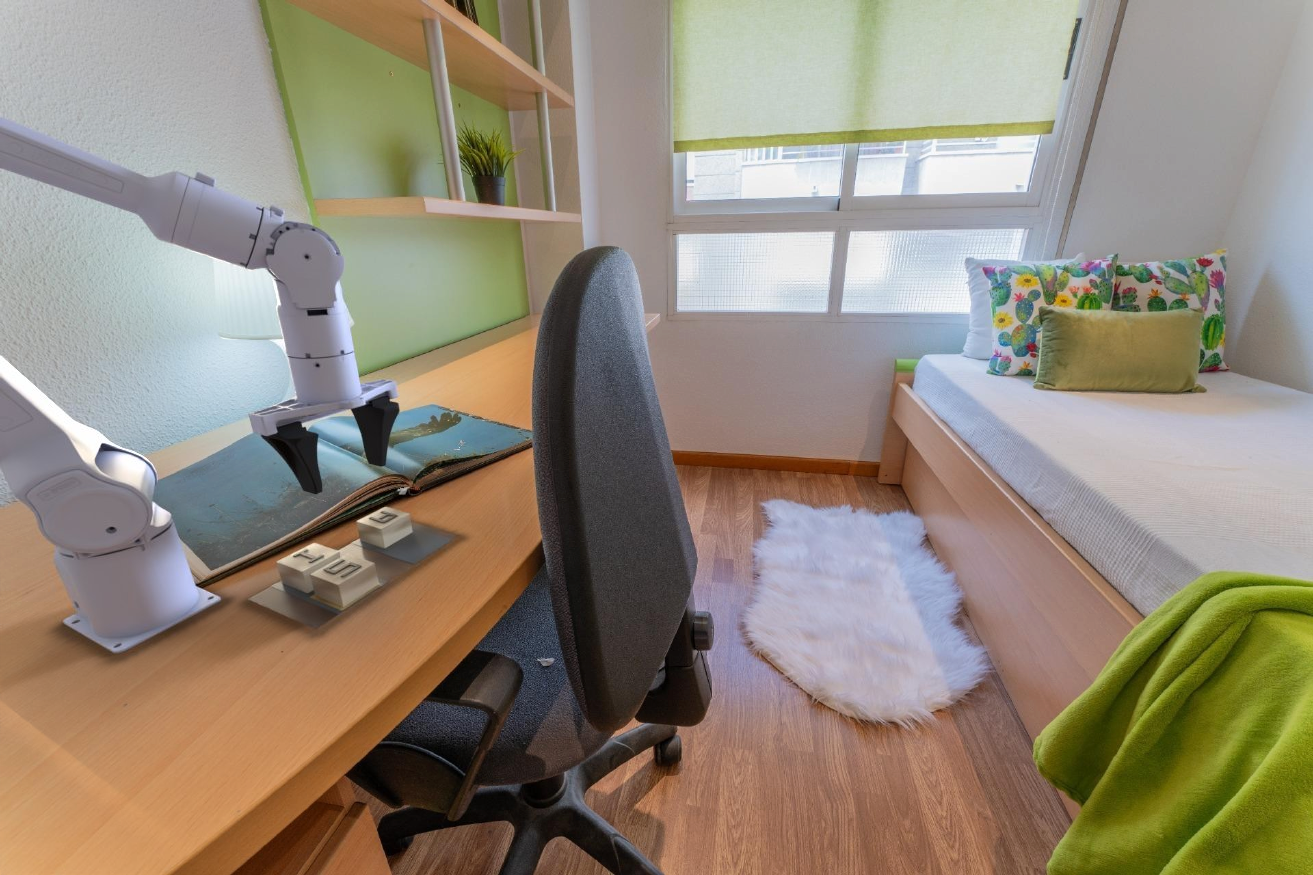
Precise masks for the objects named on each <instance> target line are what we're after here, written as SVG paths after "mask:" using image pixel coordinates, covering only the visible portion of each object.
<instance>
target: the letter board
mask: <svg viewBox="0 0 1313 875" xmlns="http://www.w3.org/2000/svg"><path fill="white" fill-rule="evenodd" d="M411 526H412V533H411V534H409V535H407V536H405V537H404V538H402V539H400V540H399V541H397V542H395V543H393V544H392V545H390V546H388V547H387V548H385V549H384V548H381V547H378V546H375V545H372V544H369V543H366V542H363V541H360V537H359V538H357V539H355V540H354V541H352V542H350V544H347V545H345V546H344V547H342V548H340V549H338V550H337V551H340V555H341V557H342V556H344V555H346V554H350V555H353V556H356V557H358V558H361V559H364V560H367V561H370V562H373V563H375V568H376V573H377V578H378V583H379V585H377V586H376V587H374V588H372V589H371V590H369V591H368V592H366V593H365V594H363V595H362V596H360V597H359V598H357V599H355V600H354V601H352V602H351V603H349V604H348V605H346V606H345V607H341V606H339V605H336V604H334V603H331V602H329V601H326V600H324V599H321V598H319V597H316V596H315V592H314V590H313V591H311V592H310V593H305V592H303V591H300V590H298V589H295V588H293V587H291V586H288V585H286V584H283V583H282V581H281V580H279V581H277V582H276V583H274V584H272V585H270V587H268V588H266V589H264V590H262V591H260V592H258V593H256V594H255V595H253V596H251V597H249V598H248V599H247V600H248V601H251V602H253V603H255V604H257V605H260V606H262V607H264V608H267V609H269V610H271V611H273V612H275V613H278V614H280V615H281V616H285V617H287V618H289V619H291V620H293V621H296V622H298V623H301V624H303V625H305V626H308V627H310V628H311V629H314V630H317V629H319V628H320V627H322V626H323V625H325V624H327V623H328V622H329V621H331V620H333V619H335V618H336V617H337V616H339V615H340V614H342V613H344V612H345V611H347V610H348V609H350V608H351V607H353V606H354V605H356V604H357V603H359V602H361V601H362V600H363V599H365V598H367V597H368V596H370V595H371V594H373V593H374V592H376V591H378V590H379V589H380V588H382V587H383V586H385V585H387V584H388V583H389V582H391V581H392V580H394V579H395V578H397V577H399V576H400V575H401V574H403V573H404V572H406V571H408V570H409V569H411V568H412V567H414V566H415V565H417V564H418V563H420V562H421V561H423V560H425V559H426V558H428V557H429V556H431V555H433V553H435V552H437V551H438V550H439V549H441V548H443V547H445V546H446V545H447V544H449V543H451V542H452V541H454V540H455V539H456V538H458V537H460V534H457V533H453V532H449V531H446V530H443V529H439V528H436V527H433V526H430V525H426V524H422V523H419V522H417V521H412V520H411Z"/></svg>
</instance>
